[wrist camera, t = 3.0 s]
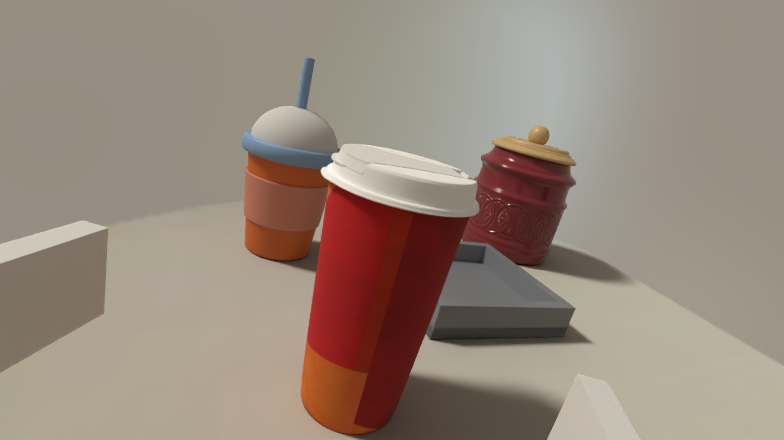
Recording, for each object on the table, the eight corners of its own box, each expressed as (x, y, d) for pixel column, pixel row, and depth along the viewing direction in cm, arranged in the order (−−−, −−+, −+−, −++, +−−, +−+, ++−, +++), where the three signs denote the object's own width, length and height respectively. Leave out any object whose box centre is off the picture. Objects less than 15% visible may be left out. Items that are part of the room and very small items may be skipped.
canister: (561, 262, 58) (609, 143, 53) (514, 272, 50) (566, 131, 44) (489, 227, 67) (524, 122, 62) (439, 231, 58) (475, 109, 53)
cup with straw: (260, 223, 45) (286, 54, 39) (336, 247, 43) (373, 75, 38) (207, 247, 36) (231, 36, 31) (299, 279, 35) (340, 63, 30)
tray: (563, 336, 37) (575, 308, 36) (430, 339, 31) (440, 305, 30) (480, 266, 49) (488, 243, 48) (373, 258, 43) (380, 232, 42)
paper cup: (402, 359, 28) (460, 163, 24) (424, 458, 20) (514, 199, 16) (287, 345, 26) (328, 132, 22) (267, 446, 19) (323, 158, 15)
